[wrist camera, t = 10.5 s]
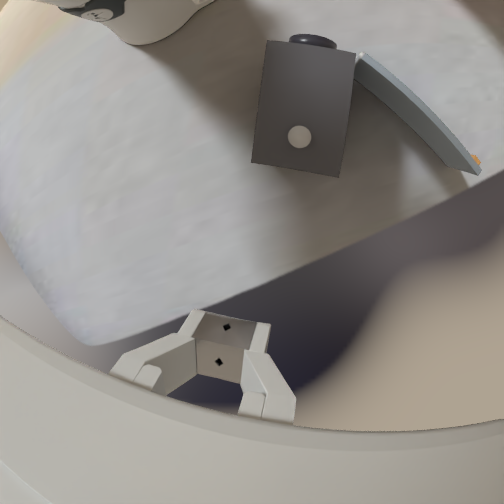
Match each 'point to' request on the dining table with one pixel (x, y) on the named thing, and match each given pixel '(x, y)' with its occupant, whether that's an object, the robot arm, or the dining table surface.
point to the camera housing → (304, 105)
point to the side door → (414, 113)
